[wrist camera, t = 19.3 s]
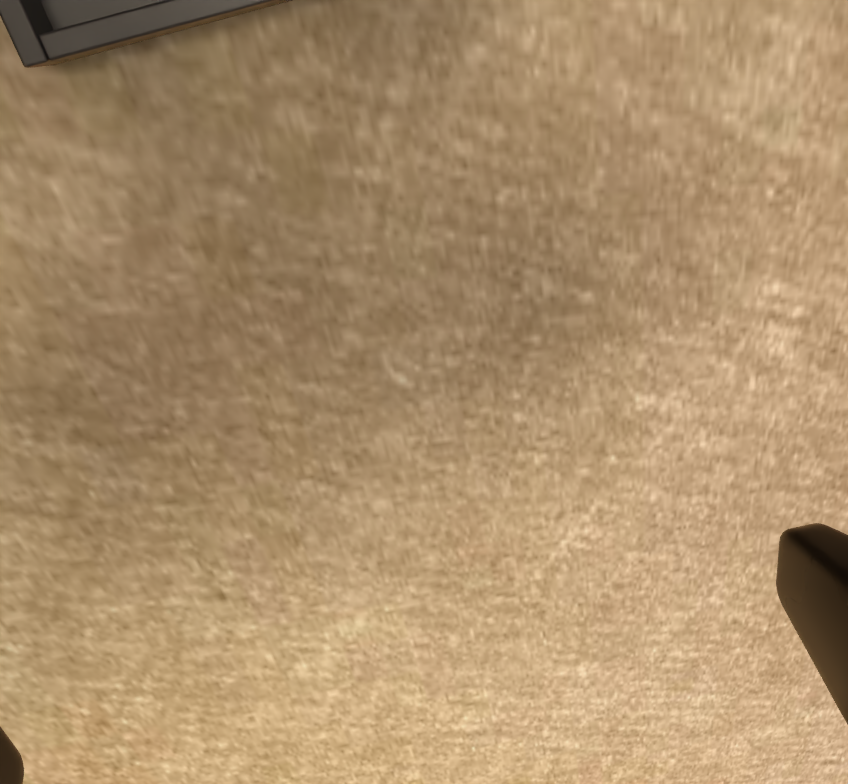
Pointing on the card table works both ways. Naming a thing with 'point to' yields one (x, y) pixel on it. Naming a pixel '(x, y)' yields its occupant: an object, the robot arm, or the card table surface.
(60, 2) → the tray
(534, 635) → the card table surface
